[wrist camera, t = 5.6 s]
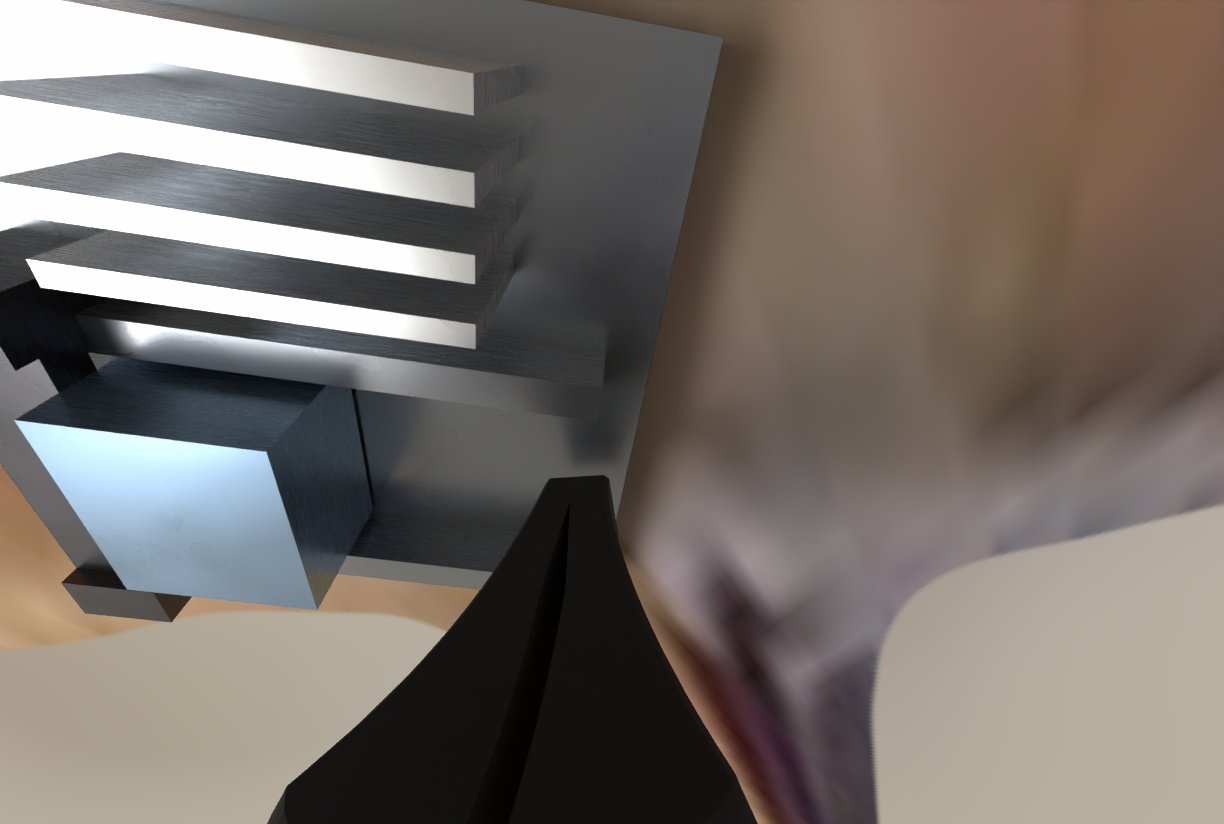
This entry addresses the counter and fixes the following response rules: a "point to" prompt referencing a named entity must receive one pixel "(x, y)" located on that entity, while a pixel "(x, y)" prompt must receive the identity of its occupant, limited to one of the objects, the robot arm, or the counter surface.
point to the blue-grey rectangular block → (209, 478)
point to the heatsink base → (351, 238)
